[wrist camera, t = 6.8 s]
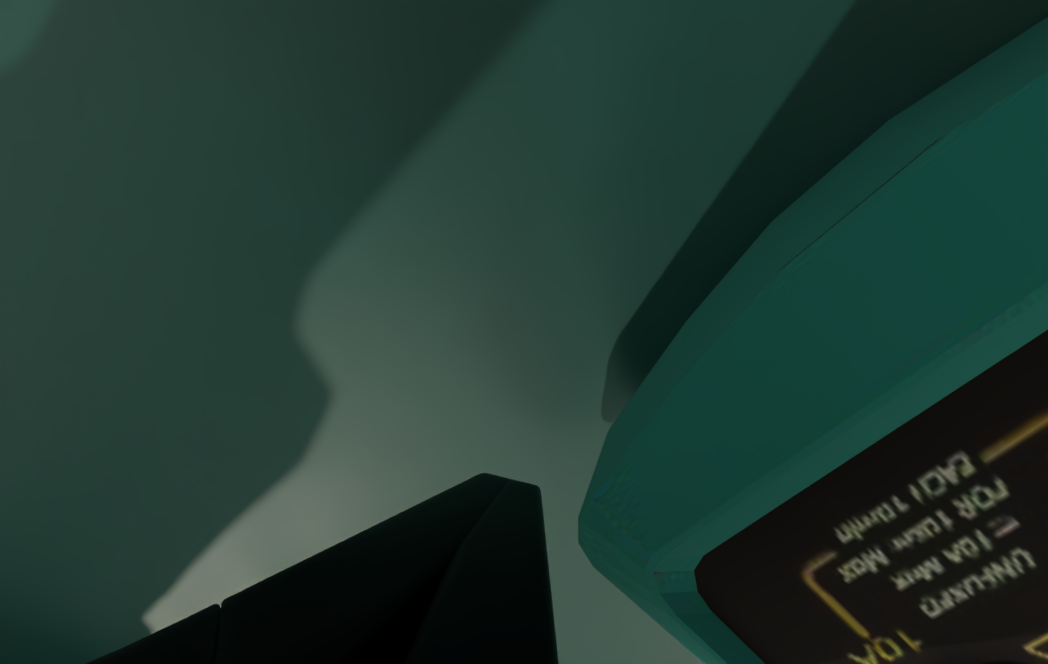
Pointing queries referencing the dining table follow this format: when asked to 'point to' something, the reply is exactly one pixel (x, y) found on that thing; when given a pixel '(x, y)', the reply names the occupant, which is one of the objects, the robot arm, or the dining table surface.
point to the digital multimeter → (859, 409)
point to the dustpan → (380, 265)
